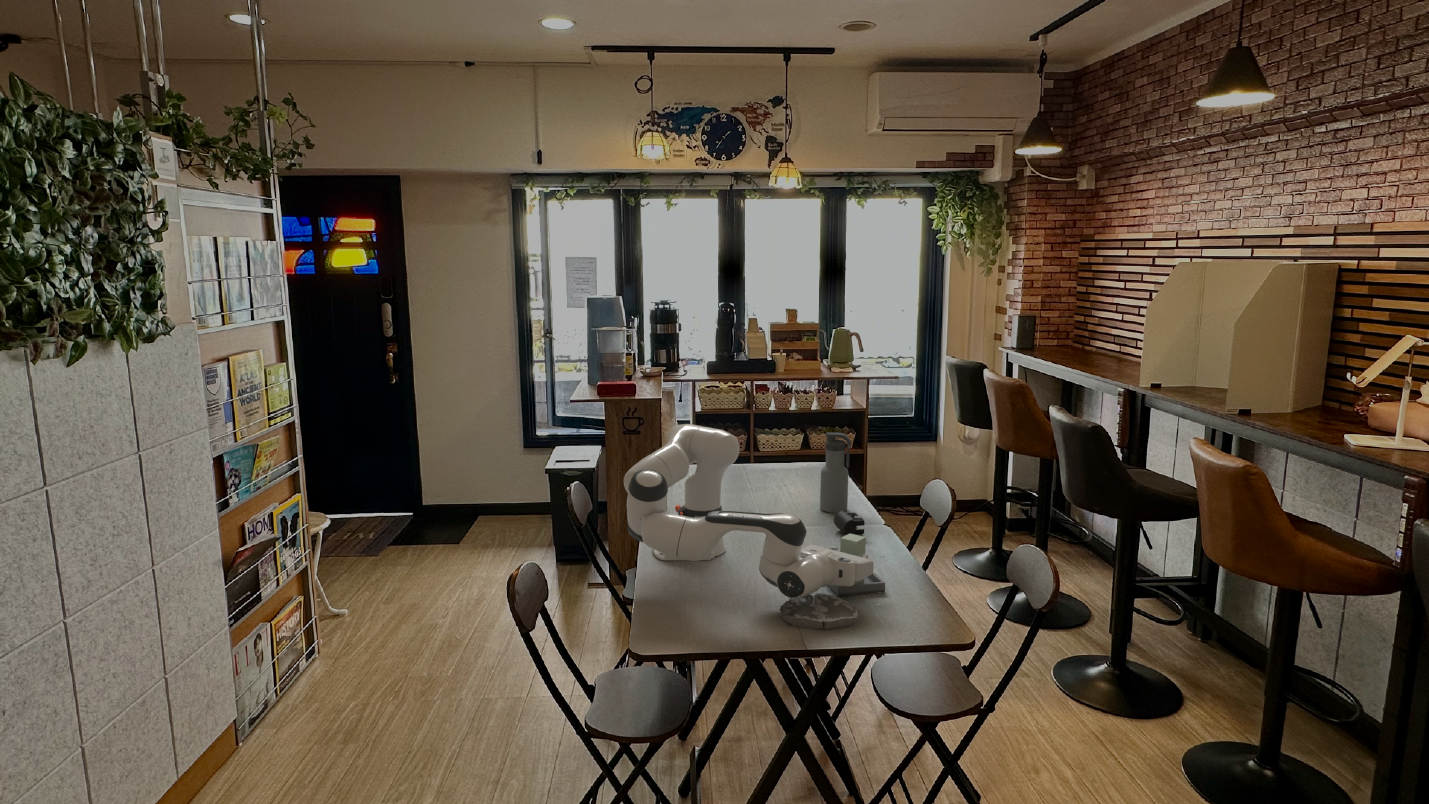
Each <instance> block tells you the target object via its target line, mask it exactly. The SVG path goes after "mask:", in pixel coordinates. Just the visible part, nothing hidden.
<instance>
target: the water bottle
mask: <svg viewBox="0 0 1429 804" xmlns="http://www.w3.org/2000/svg"><path fill="white" fill-rule="evenodd" d="M825 437H826V441H825V447H824V448H825V449H824V450H825V466H823V467H822V468H821V470H820V489H819V490H820V492H819V493H820V494H819V508H820V510H821V511H823V512H826V513H830V514H837V513H838V512H840V511H844V512H846V511H847V510H848V503H849V502H848V499H849V493H848V491H849V470H848V468H850V449H851V448H852V444H851V440H850V438H849V437H848V435H846V434H845V433H843V432H830V431H829V432H826V433H825ZM836 438H837V439H836ZM842 439H843V440H842ZM845 451H846V458H845ZM845 459H846V462H845ZM845 463H846V467H845Z"/></svg>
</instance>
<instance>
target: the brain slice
mask: <svg viewBox="0 0 1429 804" xmlns="http://www.w3.org/2000/svg"><path fill="white" fill-rule="evenodd" d="M779 612H780V613H781V617H782V619H784V620H785V621H786V623H789V625H790V626H793V627H795V628H796V627H797V628H804V629H805V628H806V629H811V630H812V629H813V630H822V629H824V630H834V629H841V628H847V627H850V626H852V625H853V623H856V621H857V619H858V617H859V611H858V608H857V606H856V604H854V603H851V602H850V601H847V600H846V599H842V598H841V597H839V596H838V597H837V596H834V595H831V594H826V593H816V594H814V595H812V594H809V595H807V596H804V597H800V598H789V599H788V600H787V601H785V602H784V603H783V604H782V605H780V608H779Z"/></svg>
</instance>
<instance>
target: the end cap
mask: <svg viewBox="0 0 1429 804" xmlns="http://www.w3.org/2000/svg"><path fill="white" fill-rule="evenodd" d="M858 516H859V515H858V514H857V513H856V512H846V511H840V512H838V513H835V515H834V518H833V524H834V525H835V527H836V528H837V529H839V530H840V531H841V532H842V534H844V536H846V535H848V534H850V533H851V534H855V535H859V536H863V537H864V535H865V528H863V529H862V528H861V529H860V528H859V529H858V527H861V526H862V527H864V526H865V522H866V521H865V519H864V518H863V517H858Z"/></svg>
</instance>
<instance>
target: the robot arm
mask: <svg viewBox="0 0 1429 804" xmlns="http://www.w3.org/2000/svg"><path fill="white" fill-rule="evenodd" d="M740 449H741V448H740V442H739V440H738V438H737V436H735V435H733V434H731V433H730V432H729V431H728V432H727V431H725V430H724V429H718V428H714V427H713V428H712V427H708V426H702V425H697V424H691V423H683V424H677V425H674V426H673V427H672V428H671V429H670V430H669V432H668V434H667V437H666V443H665V445H664V446H662V447H660V448H659V449H657V450H655V451H653V452H651V454H648V455H646V456H645V457H643V458H642V459H641V460H639V461H638V462H637V463H635V464H634V465H633V466H632V467H631V468H629V470H627V471H626V473H625V474H624V476H623V486H624V488H625V491H626V492H627V498H626V517H627V518H626V519H627V520H626V526H627V530H628V533H629V535H630V536H631V537H632V538H633V539H635V540H636V541H638V542H641V543H644V544H645V545H646V546H647V547H649V548H651V549H652V553H653V555H654V557H656V558H657V559H658V560H661V561H690V562H694V561H695V562H699V561H711V559H712V560H713V559H715V556H716V557H718V556H721V555H722V554H724V553H725V552H726V545H725V543H724V536H725V535H726V534H728V533H730V532H734V531H739V532H741V531H742V532H749V533H750V532H754V533H763V534H765V538H764V543H763V546H762V547H763V548H762V551H761V555H760V560H759V565H758V570H759V572H760V574H761V576H762V577H763V578H764V579H765V580H766V582H768V583H769V584H770V585H772V586H774V587H775V588H778V590H779V592H780V593H781V594H782V595H784V596H786V597H787V598H789V599H790V598H800V597H804V596H807V595H809V594H810V595H812V594H813V593H815V592H817V591H818V590H820V588H824V587H826V586H827V585H842V586H853V585H854V582H856V581H861V580H863V579H865V578H867V577H869V576H870V575H871V574H872V573H873V572H874V567H875V566H874V561H873V560H872V559H871V558H869V554H866V553H865V554H862V555H860V557H859V556H855V555H851V554H848V553H844V552H840V550H839V547H836V546H834V545H833V546H831V547H829V546H828V547H823V546H820V545H816V544H807V545H806V546H805V547H803V544H804V542H805V539H806V536H807V534H808V533H807V531H808V530H807V528H806V527H805V525H804V523H803V521H802V520H801V518H800V517H799V516H797V515H795V514H791V513H786V512H785V513H784V512H783V513H780V512H779V513H777V512H776V513H761V512H752V511H751V512H750V511H749V512H748V511H736V510H735V511H734V510H723V507H722V505H721V499H722V498H721V497H722V496H721V495H722V483H723V482H722V481H723V477H724V475H725V473H726V471H727V470H728V468H729V467H730V466H731V465H733V464H734V463H735V462H736V460H737V459H738V457H739V454H740ZM693 463H695V464H696V468H695V472H694V474H692V475H690V476H689V477H687V475H688V474H689V470H690V464H693ZM686 477H687V479H685V478H686ZM683 479H685V482H684V505H682V506H681V505H680V504H676V505H675V506H674V510H675V512H676V513H670V512H669V511H668V491H669V488H670V487H672V486H674V485H675V484H677V483H678V482H680V481H682V480H683ZM802 547H803V548H802Z"/></svg>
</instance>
